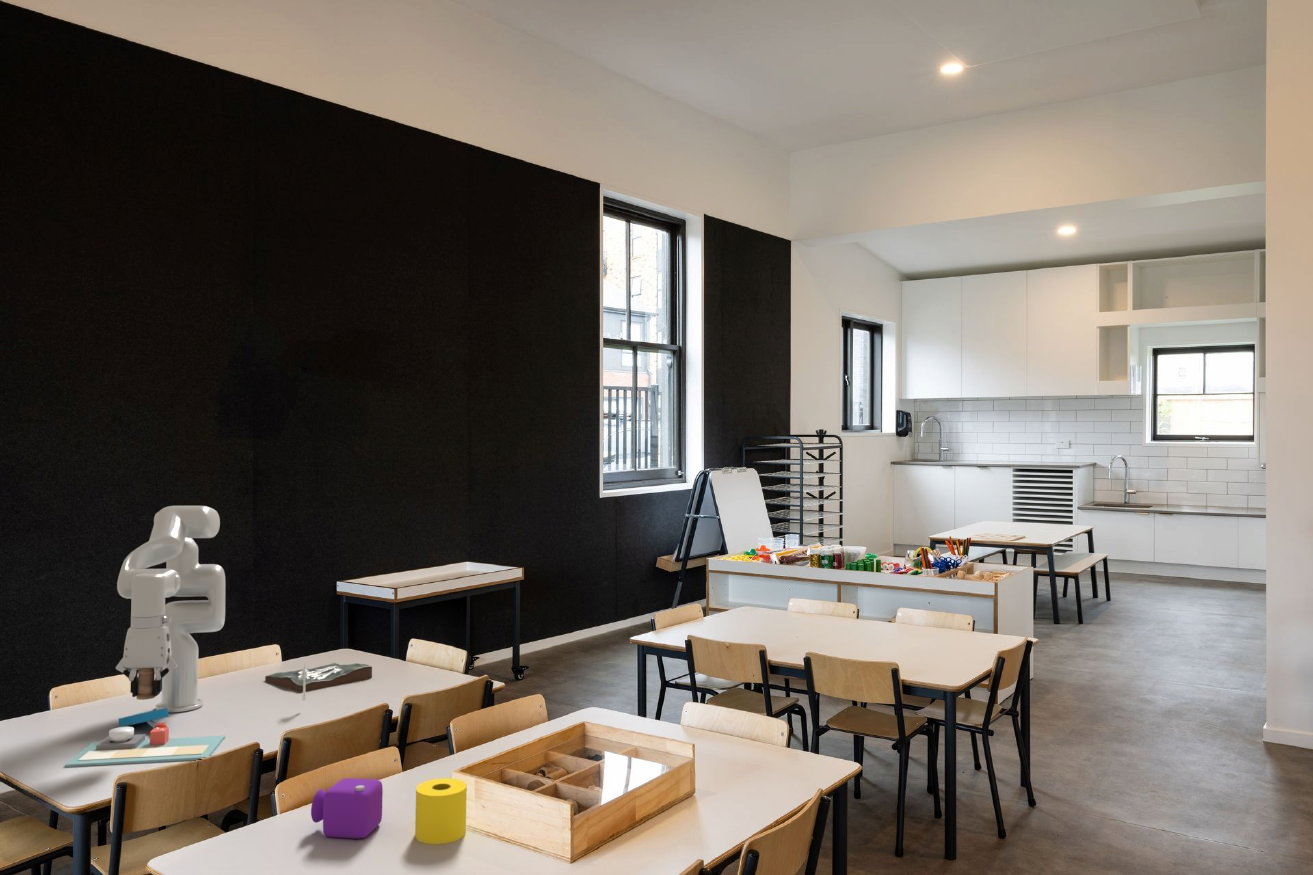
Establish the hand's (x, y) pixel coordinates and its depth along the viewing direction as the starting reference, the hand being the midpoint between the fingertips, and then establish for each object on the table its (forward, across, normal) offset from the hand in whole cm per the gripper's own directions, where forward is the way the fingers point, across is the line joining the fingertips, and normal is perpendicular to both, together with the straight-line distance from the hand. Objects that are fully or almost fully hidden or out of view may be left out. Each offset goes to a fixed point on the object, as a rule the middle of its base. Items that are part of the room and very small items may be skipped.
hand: (146, 694), depth 235 cm
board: (+15, 0, -3) cm, 16 cm away
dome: (+14, +8, -8) cm, 18 cm away
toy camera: (+16, -56, +57) cm, 81 cm away
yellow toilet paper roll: (+15, -75, +61) cm, 98 cm away
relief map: (+16, -32, -63) cm, 73 cm away
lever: (+16, +7, -24) cm, 29 cm away
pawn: (+1, 0, 0) cm, 1 cm away
